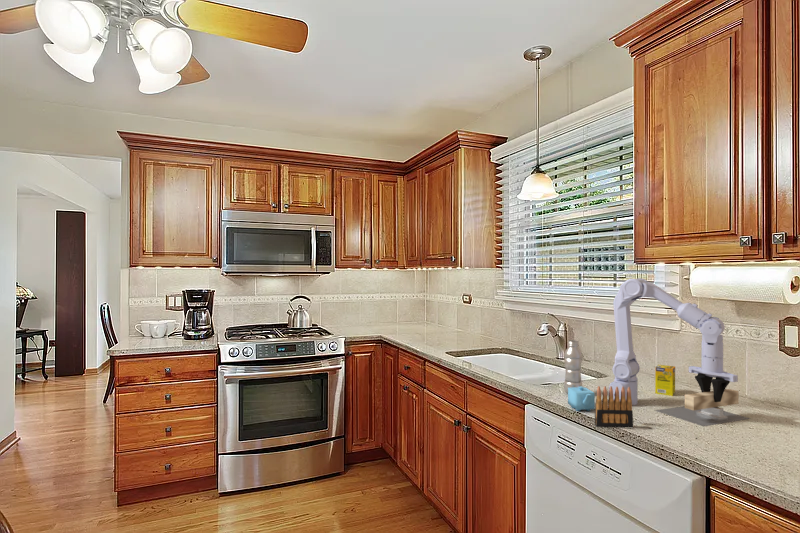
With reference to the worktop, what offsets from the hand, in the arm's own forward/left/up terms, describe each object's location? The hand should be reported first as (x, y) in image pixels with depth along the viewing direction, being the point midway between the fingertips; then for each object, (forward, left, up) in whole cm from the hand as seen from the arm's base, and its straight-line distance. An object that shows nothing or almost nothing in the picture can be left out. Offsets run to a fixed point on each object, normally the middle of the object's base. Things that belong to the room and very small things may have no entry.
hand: (712, 400), depth 151 cm
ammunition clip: (-31, +12, -7) cm, 34 cm away
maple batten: (0, 0, -2) cm, 2 cm away
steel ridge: (0, 0, -5) cm, 5 cm away
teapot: (-25, +28, -7) cm, 39 cm away
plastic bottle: (-11, +43, -7) cm, 45 cm away
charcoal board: (+1, +4, -6) cm, 8 cm away
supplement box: (+17, +24, -7) cm, 30 cm away
